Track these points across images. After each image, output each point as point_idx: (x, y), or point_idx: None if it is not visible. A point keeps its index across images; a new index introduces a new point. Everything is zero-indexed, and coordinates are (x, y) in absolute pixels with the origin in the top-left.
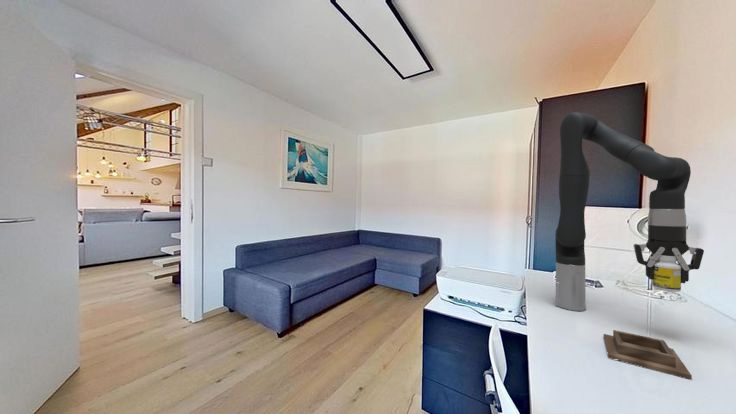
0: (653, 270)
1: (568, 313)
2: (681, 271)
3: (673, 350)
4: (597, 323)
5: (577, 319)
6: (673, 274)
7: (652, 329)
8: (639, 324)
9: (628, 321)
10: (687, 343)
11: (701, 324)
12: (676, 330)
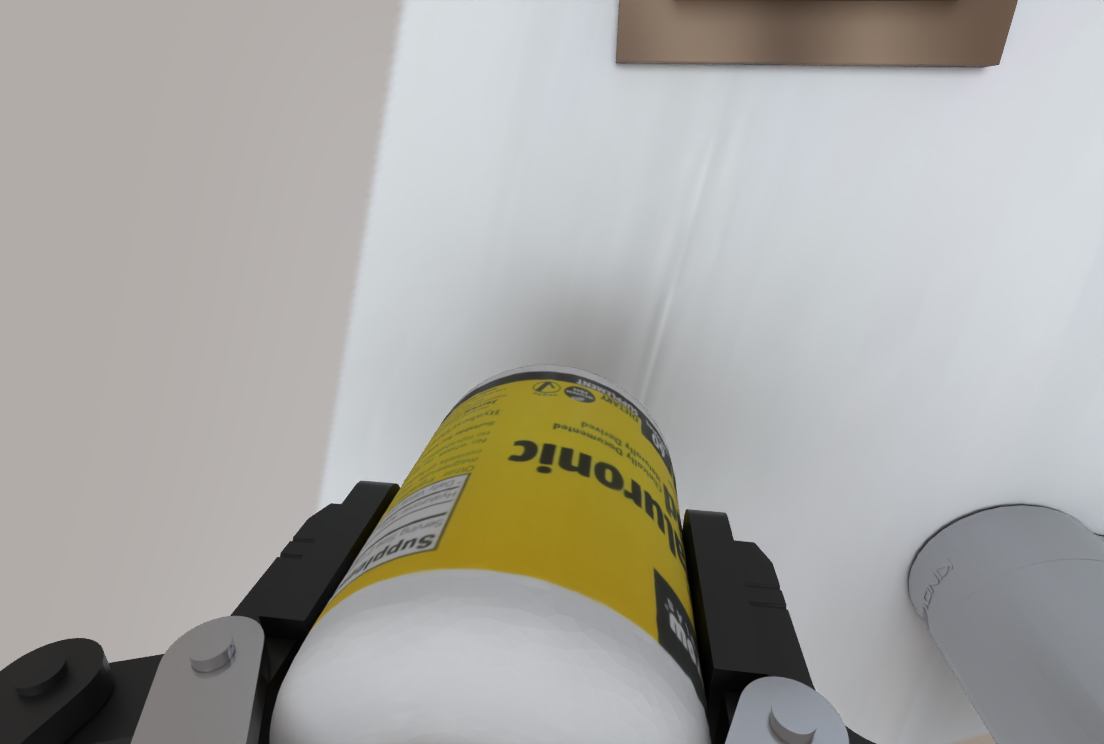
0: (708, 615)
1: (1069, 439)
2: (318, 616)
3: (620, 29)
4: (922, 341)
5: (1046, 347)
6: (455, 488)
7: None
8: None
9: (710, 478)
10: (504, 287)
11: None
12: None
